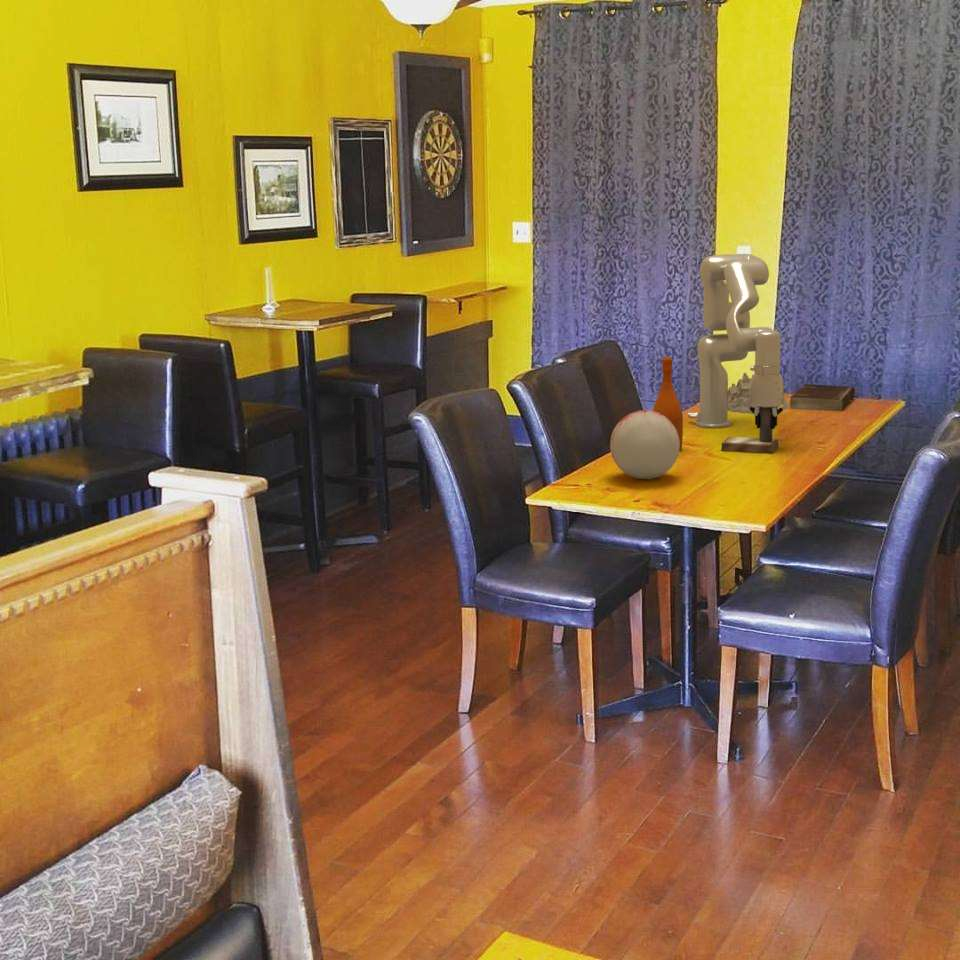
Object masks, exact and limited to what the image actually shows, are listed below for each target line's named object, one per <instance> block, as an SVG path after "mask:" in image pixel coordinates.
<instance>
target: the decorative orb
mask: <svg viewBox="0 0 960 960" xmlns="http://www.w3.org/2000/svg"><path fill="white" fill-rule="evenodd" d="M609 449H610V454H611V457H612V459H613V462H614V463H615V464H616V466H617V468H618V469H619V470H620V471H621V472H623V473H624V474H626V475H628V476H629V477H632V478H633V479H638V480H652V479H655V478H658V477H660V476H663V475H664V474H666V473H667V472H668V471H670V470H671V468H672V467H673V466H674V464H675V463H676V461H677V459H678V456H679V453H680V450H681V449H680V441H679V435H678V432H677V430H676V428H675V427H674V425H673V424H672V422H671V421H670V420H669V419H668V418H666V417H665V416H663V415H662V414H660V413H657V412H654V411H653V410H647V409H643V410H636V411H633V412H631V413H628V414H627V415H625V416H623V418H621V420H619V422H618V423H617V424H616V425H615V427H614V429H613V431H612V433H611V436H610V441H609ZM679 449H680V450H679Z"/></svg>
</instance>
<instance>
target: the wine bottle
mask: <svg viewBox="0 0 960 960" xmlns="http://www.w3.org/2000/svg"><path fill="white" fill-rule="evenodd" d="M661 365H662V367H661V371H662V381H661V387H659V391H658V395H657V398H656V399H655V402H654V405H653V408H652V411H654V412H657V413H660V414H662V415H663V416H665V417H666V418H668V419H669V420H670V421H671V422H672V424H673V425H674V427H675V428H676V430H677V432H678V435H679V441H680V449H679V451H680V450H682V447H683V434H684V431H683V428H684V427H683V426H684V421H683V419H684V418H683V417H684V416H683V410H682V406H681V404H680V401H679V398H678V396H677V394H676V392H675V389H674V386H673V379H672V375H673V374H672V372H673V358H672V357H671V356H663V357H662V359H661Z"/></svg>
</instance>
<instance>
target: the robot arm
mask: <svg viewBox="0 0 960 960" xmlns="http://www.w3.org/2000/svg"><path fill="white" fill-rule="evenodd" d="M699 270H700V273H699V274H700V279H701V283H702V287H703V303H702V304H703V310H702V311H703V312H702V320H703V326H704V328H705V329H706V330H708V331H712V332H719V331H720V332H721V331H723V332H724V331H726V333H714V334H706V335H704V336H702V337H701V338H700V339H699V340H698V341H697V354H698V361H699V374H700V375H699V411H697V412H694V411H693V412H692V411H688V413H687V418H689V419H696V420H695V425H696V426H697V427H701V428H711V429H713V428H715V429H717V428H727V427H730V426H733V421H732V420H731V419H728V412H729V411H728V390H729V375H728V371H727V370H726V368H725V367H724V366H723V364H722V363H724V362H737V361H743V360H744V359H746V358H747V356H748V353H750V352H754V353H755V355H754V356H755V357H754V365H752V366H750V369H749V371H751V372H753V374H752V375H751V377H750V378H751V384H750V395H749V398H748V400H747V401H746V402H745V404H744V406H745V407H747V408H748V409H750V411H751V412H752V413H751V414H753V416H755V417H754V425H755V426H756V429H760V407H772V410H773V416H772V420H771V429H773V430H774V429H775V428H776V427H777V426H778V416H779V415H780V414H781V413H782V412H783V411H785V410H787V409H788V408H789V407H790V403H788V401H787V400H786V398H785V395H784V381H783V375H782V374H780V373H781V372H780V370H781V369H780V366H781V365H780V364H781V333H780V332H779V331H778V330H773V329H772V328H771V327H768V326H761V327H759V326H758V327H751V314H750V311H751V310H753V309H755V307H756V306H757V305H758V304H759V301H760V296H759V293H758V290H757V287H756V286H764V285H765V284H767V282H769V277H770V270H769V267H768V265H767V263H766V262H765V260H764V259H762V258H760V257H759V256H756V255H753V254H751V253H734V254H733V253H732V254H731V253H730V254H729V253H727V254H714V255H709V256H706V257H705V258H703V260H702V261H701V263H700V269H699ZM729 299H730V300H731V301H730V300H729Z"/></svg>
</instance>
